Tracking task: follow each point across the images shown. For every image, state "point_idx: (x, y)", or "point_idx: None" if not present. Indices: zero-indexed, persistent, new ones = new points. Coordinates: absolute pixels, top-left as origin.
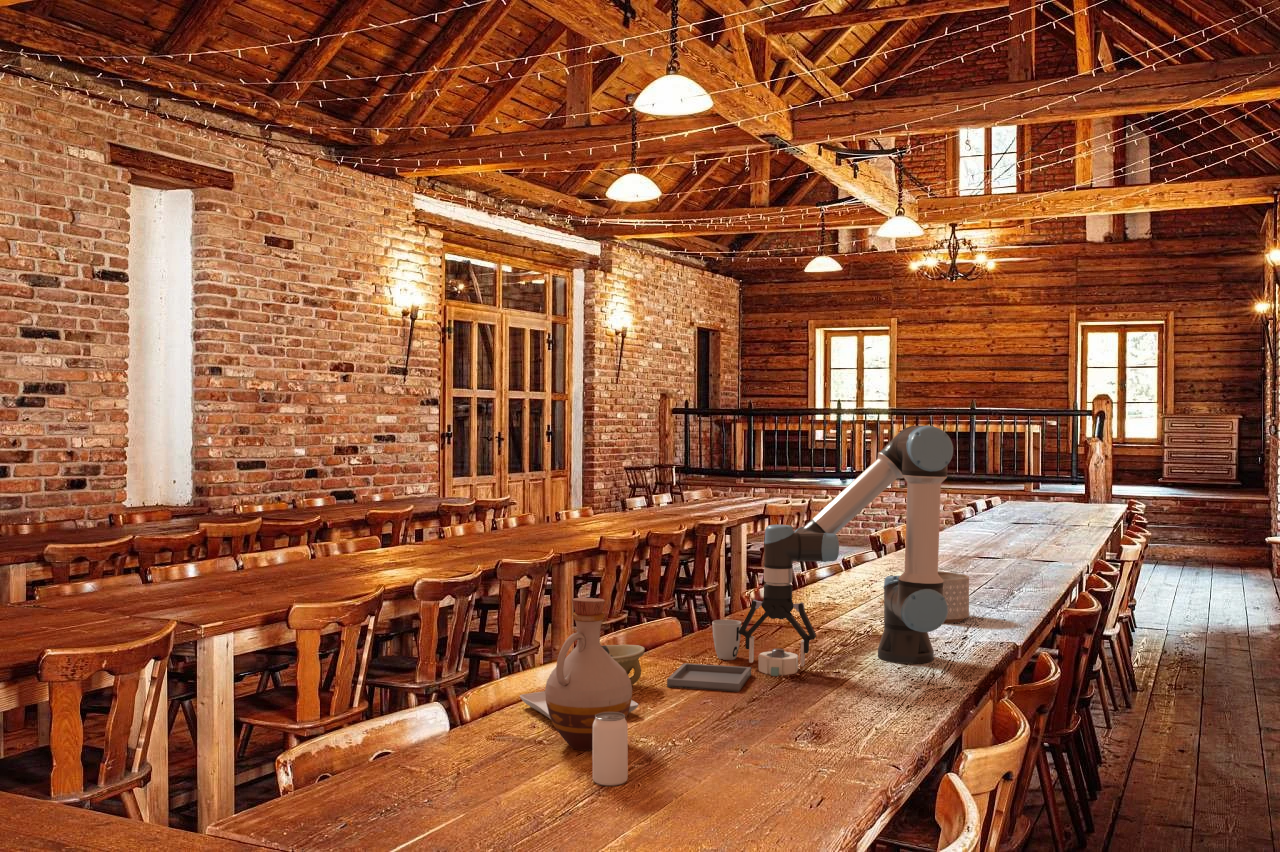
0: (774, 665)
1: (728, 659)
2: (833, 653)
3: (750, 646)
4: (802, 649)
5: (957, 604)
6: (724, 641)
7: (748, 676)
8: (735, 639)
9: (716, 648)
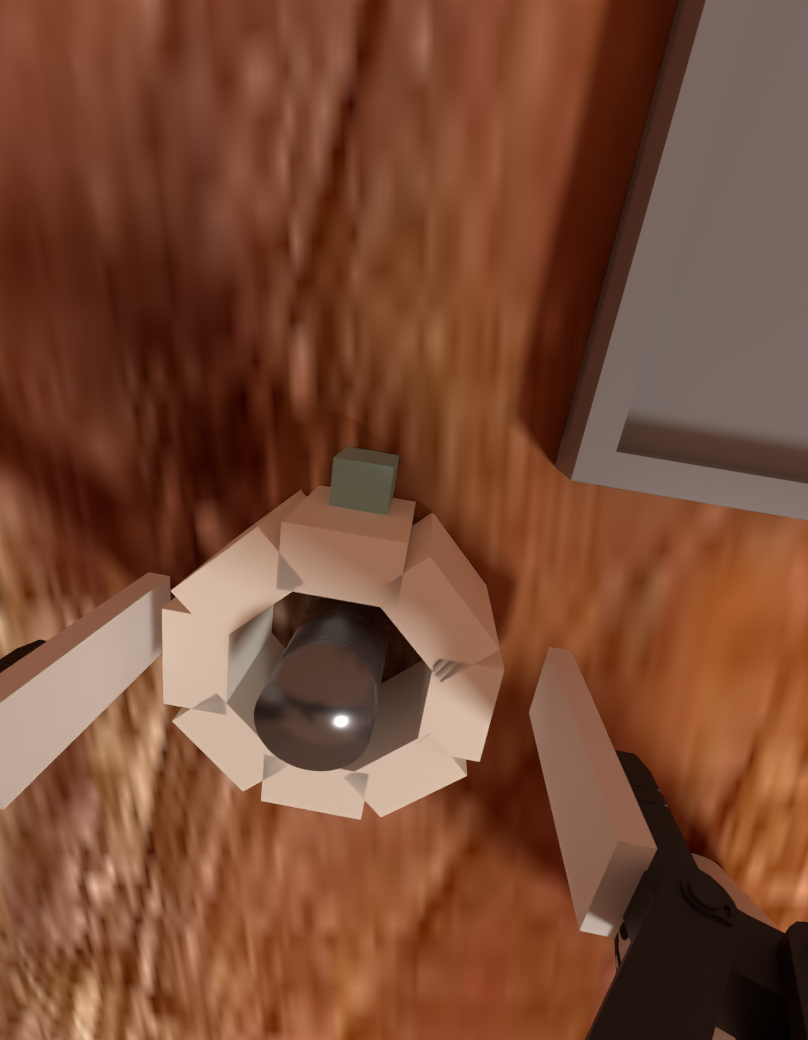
0: (363, 515)
1: None
2: (88, 962)
3: (603, 753)
4: (46, 649)
5: None
6: None
7: (595, 332)
8: None
9: None
